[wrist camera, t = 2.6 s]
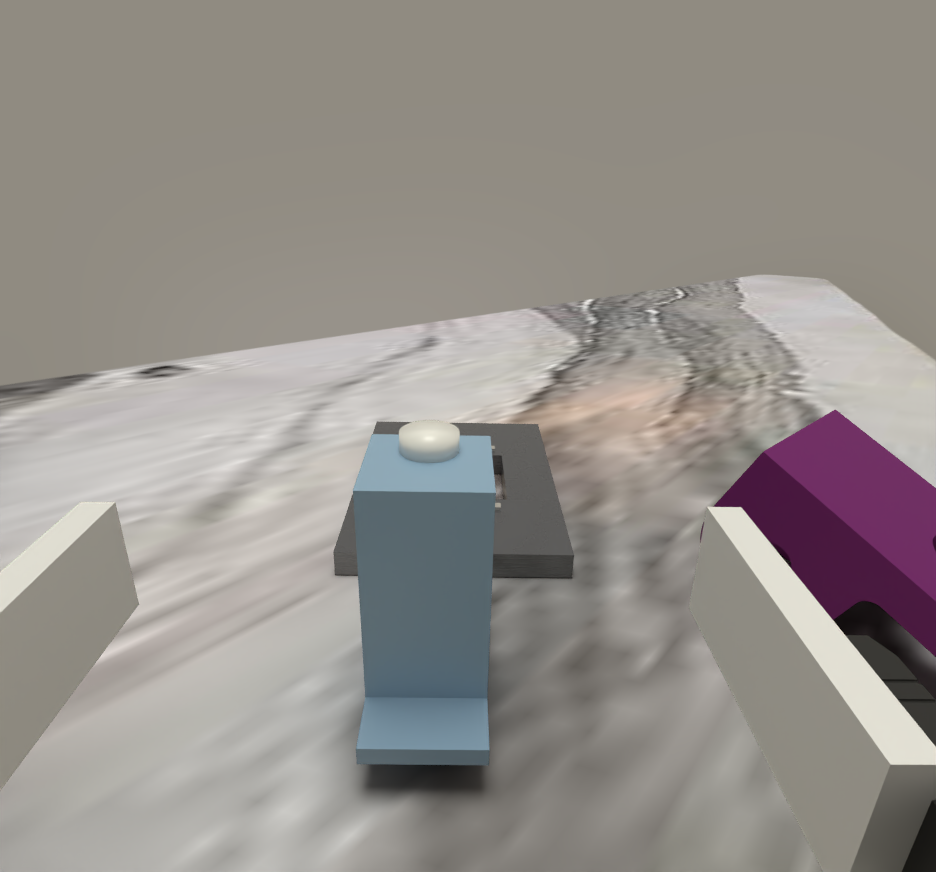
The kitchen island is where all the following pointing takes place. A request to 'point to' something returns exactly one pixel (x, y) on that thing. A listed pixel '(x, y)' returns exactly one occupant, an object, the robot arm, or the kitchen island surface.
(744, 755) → the kitchen island surface
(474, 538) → the block
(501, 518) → the plate
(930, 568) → the mounting bracket
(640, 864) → the kitchen island surface
